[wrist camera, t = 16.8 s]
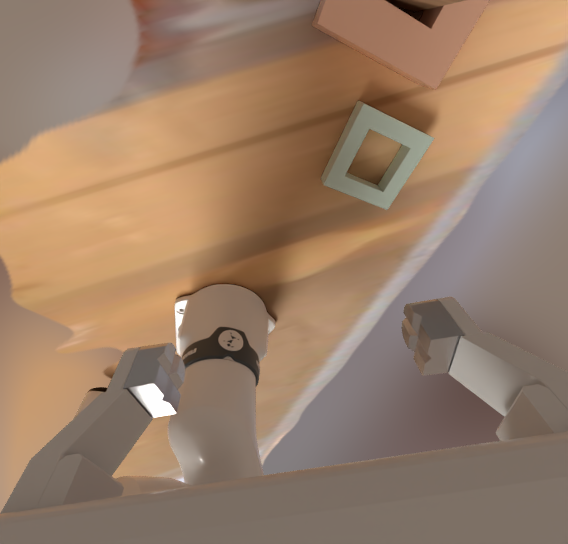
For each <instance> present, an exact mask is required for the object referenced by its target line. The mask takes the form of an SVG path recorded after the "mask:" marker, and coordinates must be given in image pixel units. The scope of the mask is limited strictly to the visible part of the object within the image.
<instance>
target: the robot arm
mask: <svg viewBox="0 0 568 544" xmlns="http://www.w3.org/2000/svg"><path fill="white" fill-rule="evenodd" d="M181 308H182V309H181ZM404 314H405V316H406V318H405V319H404V320H403V321H402V333H403V337H404V340H405V343H406V345H407V347H408V348H409V349H411V350H412V351H414V352H415V354H414V360H415V362H416V364H417V366H418V368H419V370H420V372H421V374H422V375H431V374H440V373H448V372H449V374H450V375H451V376H452V377H454V378H455V379H456V380H458V381H459V382H460V383H461V384H463V385H464V386H465V387H467V388H468V389H469V390H471V391H472V392H473V393H475V394H476V395H477V396H478V397H480V398H481V399H482V400H484V401H485V402H486V403H488V404H489V405H490V406H491V407H493V408H494V409H495V410H497V411H498V412H499V413H501V414H502V415H503V416H504V419H503V421H502V422H501V424H500V425H499V427H498V429H497V431H496V434H497V436H498V437H499V439H500V441H497V442H490V443H483V444H476V445H469V446H462V447H455V448H449V449H442V450H435V451H428V452H421V453H415V454H407V455H400V456H394V457H387V458H380V459H374V460H366V461H359V462H353V463H346V464H339V465H332V466H325V467H318V468H312V469H305V470H297V471H290V472H284V473H277V474H270V475H264V474H263V469H262V465H261V460H260V455H259V450H258V444H257V436H256V386H257V384H258V380H259V375H260V366H259V362H260V361H261V360H262V359H263V358H264V357H265V356H266V355H267V346H268V335H269V333H270V332H271V331H272V330H273V329H274V328H275V320H274V319H273V318H272V317H271V316H270V315H269V314H268V313H267V310H266V307H265V305H264V303H263V301H262V300H261V299H260V297H259V296H257V295H256V294H255V293H254V292H252V291H250V290H248V289H246V288H244V287H241V286H237V285H232V284H217V285H212V286H208V287H205V288H203V289H201V290H199V291H198V292H196V293H194V294H192V295H189V296H183V297H180V298H177V299H176V301H175V326H176V348H175V347H174V345H173V344H172V343H164V344H157V345H149V346H142V347H136V348H129V349H127V350H126V351H125V352H124V353H123V355H122V357H121V359H120V362H119V364H118V366H117V368H116V371H115V373H114V375H113V377H112V379H111V382H110V384H109V386H108V388H107V391H106V392H103V393H101V394H100V395H99V396H98V397H96V398H95V399H94V400H93V401H92V402H91V403H90V404H89V405H88V406H87V407H86V408H85V409H84V410H83V411H82V412H80V413H79V414H78V415H77V416H76V417H75V418H74V419H73V420H72V421H71V422H70V423H69V424H68V425H67V426H66V427H65V428H63V430H61V431H60V432H59V433H58V434H57V435H56V436H55V437H54V438H53V439H52V440H51V441H50V442H49V443H47V444H46V446H45V447H43V448H42V449H41V450H40V451H39V452H38V453H37V454H36V455H35V456H34V457H33V458H32V459H31V460H30V461H29V463H28V465H27V467H26V469H25V470H24V472H23V474H22V476H21V478H20V480H19V481H18V483H17V485H16V487H15V488H14V490H13V492H12V494H11V495H10V497H9V499H8V501H7V503H6V504H5V506H4V508H3V510H2V512H1V513H0V544H568V372H567V371H565V370H563V369H561V368H559V367H557V366H555V365H553V364H551V363H549V362H547V361H545V360H543V359H541V358H539V357H537V356H535V355H533V354H531V353H529V352H527V351H525V350H523V349H521V348H519V347H517V346H515V345H513V344H511V343H509V342H507V341H505V340H503V339H501V338H499V337H497V336H495V335H492V334H491V333H489V332H485V333H483V332H482V331H481V330H480V328H479V327H478V326H477V325H476V324H475V322H474V321H473V320H472V319H471V318H470V316H469V315H468V314H467V313H466V312H465V310H464V309H463V308H462V307H461V306H460V304H459V303H458V302H457V301H456V299H455V298H453V297H446V298H440V299H436V300H435V299H434V300H428V301H422V302H416V303H410V304H406V305H405V307H404ZM176 349H177V353H178V354H179V355H181V357H180V356H178V355H176V354H175V351H176ZM166 415H171V416H170V420H169V424H168V438H169V443H170V446H171V448H172V450H173V452H174V454H175V456H176V457H177V459H178V461H179V463H180V466H181V469H182V472H183V477H184V482H185V483H183V482H181V481H178V480H175V479H172V478H164V477H147V476H123V477H119V478H117V479H115V478H113V477H112V475H113V473H114V472H115V471H116V469H117V468H118V467H119V465H120V464H121V462H122V461H123V460H124V458H125V457H126V455H127V454H128V453H129V451H130V450H131V449H132V447H133V446H134V444H135V443H136V442H137V440H138V439H139V437H140V436H141V435H142V433H143V432H144V431H145V429H146V428H147V426H148V425H149V424H150V422H151V421H152V418H155V417H160V416H166Z"/></svg>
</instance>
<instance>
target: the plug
mask: <svg viewBox="0 0 568 544" xmlns="http://www.w3.org/2000/svg"><path fill="white" fill-rule="evenodd" d="M385 1H387V2H389V3H390V4H392V5H393V6H395V7H399V8H403V9H407V10H411V11H415V12H417V11H422V10H426V9H430V8H435V7H439V6H444V5H448V4H452V3H457V2H461V1H466V0H385Z"/></svg>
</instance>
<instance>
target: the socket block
mask: <svg viewBox="0 0 568 544" xmlns="http://www.w3.org/2000/svg"><path fill="white" fill-rule="evenodd" d="M489 1H490V0H466V1H461V2H457V3H452V4H448V5H444V6H439V7H435V8H430V9H426V10H424V12H423V14H422V16H421V18H420V20H419V21H417V20H416V19H414V18H413V17H411V16H409V15H408V14H406V13H405V12H403V11H401V10H400V9H398V8H397V7H395V6H393V5H392V4H390V3H389V2H387V1H385V0H321V1H320V3H319V6H318V9H317V12H316V15H315V18H314V20H313V23H312V26H313V27H315V28H316V29H318V30H320V31H322V32H324V33H326V34H327V35H329V36H331V37H333V38H335V39H336V40H338V41H340V42H342V43H344V44H346V45H347V46H349V47H351V48H353V49H355V50H357V51H358V52H360V53H362V54H364V55H366V56H367V57H369V58H371V59H373V60H375V61H377V62H378V63H380V64H382V65H384V66H386V67H388V68H389V69H391V70H393V71H395V72H397V73H398V74H400V75H402V76H404V77H406V78H408V79H409V80H411V81H413V82H415V83H417V84H419V85H421V86H425V87H429V88H433V89H437V87H438V85H439V84H440V82H441V80H442V79H443V77H444V75H445V74H446V72H447V71H448V69H449V67H450V66H451V64H452V62H453V61H454V59H455V57H456V56H457V54H458V52H459V51H460V49H461V47H462V46H463V44H464V42H465V41H466V39H467V37H468V36H469V34H470V33H471V31H472V29H473V28H474V26H475V24H476V23H477V21H478V19H479V18H480V16H481V14H482V13H483V11H484V9H485V8H486V6H487V4H488V3H489Z"/></svg>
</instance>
